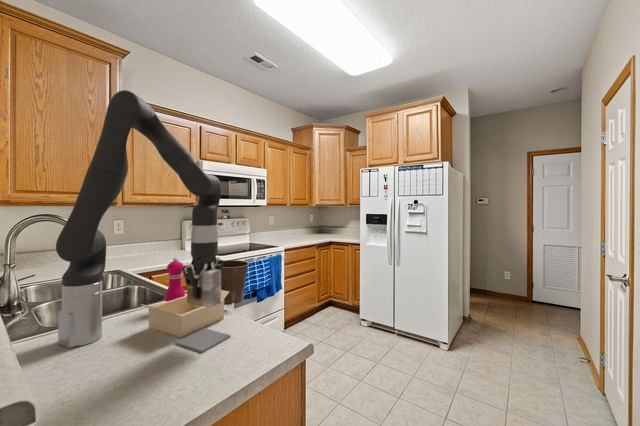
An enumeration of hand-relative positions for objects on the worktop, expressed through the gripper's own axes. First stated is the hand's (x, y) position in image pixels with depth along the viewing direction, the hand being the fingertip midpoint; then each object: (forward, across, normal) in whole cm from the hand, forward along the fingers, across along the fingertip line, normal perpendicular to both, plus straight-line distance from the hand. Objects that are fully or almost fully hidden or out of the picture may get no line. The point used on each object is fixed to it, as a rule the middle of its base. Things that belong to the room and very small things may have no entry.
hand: (204, 296), depth 86 cm
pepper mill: (+14, +14, +31) cm, 37 cm away
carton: (+13, +6, +14) cm, 21 cm away
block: (+2, 0, 0) cm, 2 cm away
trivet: (+13, 0, 0) cm, 13 cm away
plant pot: (+14, +31, +19) cm, 39 cm away
